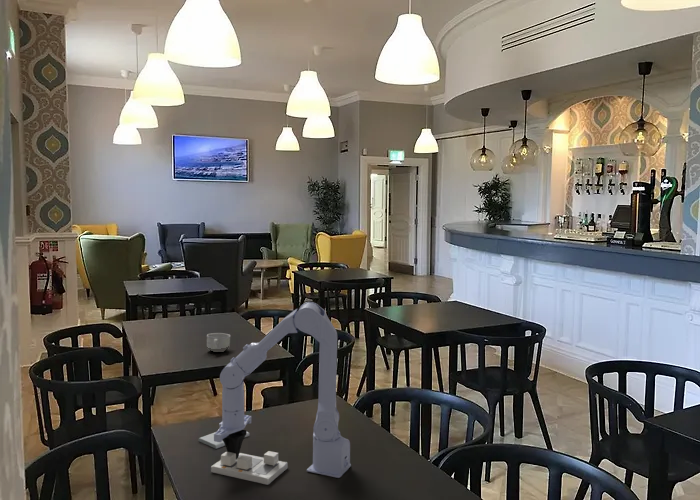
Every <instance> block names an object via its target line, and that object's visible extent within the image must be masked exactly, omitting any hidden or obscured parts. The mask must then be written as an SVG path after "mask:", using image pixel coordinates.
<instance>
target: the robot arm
mask: <svg viewBox="0 0 700 500" xmlns="http://www.w3.org/2000/svg"><path fill="white" fill-rule="evenodd" d="M299 331H301V332H303V333H305V334H308V335H310V336H312V337H313V338H314V339H315V340H316V341H317V342H318V343H319V347H318V348H319V351H318V352H319V355H318V363H319V364H318V403H317V412H316V415H315V421H314V424H313V429H312V430H313V433H312V464H311V465H310V466H309V467H308V468H307V469H306V472H309V473H313V474H319V475H321V476H328V477H333V478H337V479H339V478H341V477H342V476H343V475H344V474H345V473H346V472H348V470H349V468H350V467H351V466H352V464H351V442H350V440H349V439H348V438H345V437H343V436H342V435H341V431H340V430H339V421H340V413H339V411H338V409H337V369H338V368H337V366H338V365H337V362H338V361H337V360H338V332H337V330H336V327H335V326H334V325H333V323H332V321H331V320H330V319H329V316H328V315H327V313H326V310H325V309H324V308H322V307H321V306H320V305H319V304H318V303H316V302H313V301H307V302H306V301H305V302H304V303H303V304H301V305H300V307H299V308H296V309H294V310H293V311H291V312H290V313H289V314H287V315H286V316H285V317H284V318H283V319H282V320H281V321H280V322H278V324H276V326H274V328H272V330H270V331H269V333H267V335H266V336H264V338H262V339H261V340H260V341H259V342H251V343H250V344H248V343H247V344H245V345H244V346H243V347H242V349H243V350H242V351H241V352H240V353H239V354H238V355H237V356H235V357H232V358H230V360H229V361H230V362H229V363H227V365H225V366H224V367H223V369H222V370H221V372H220V374H219V381H220V384H221V386H222V392H221V401H222V402H221V404H222V405H221V406H222V407H221V408H222V410H221V415H222V416H221V417H222V420H221V422H219V424H218V426H219V428H218V430H216V431H215V432H216V433H215V432H214V433H215V434H214V441H216V442H222V441H223V442H224V444H225V449H226V452H231V453H236V459H237V458H238V456H239V453H241V452H240V451H241V448H242V444H243V441H244V439H245V438H246V437H245V436H246V431H247V430H246V429H245V428H246V426H247V425H250V424H252V415H248V414H245V389H244V388H245V385H244V383H245V381H244V380H245V378H246V376H249V375H250V374H252V372H254V371H255V369H257V368H258V367H259V366H260V365H262V363H263V362H265V361H266V360H267V353H268V351H269V350H271V349H272V348H273V347H274V346H275V345H276V344H277V343H278V342H280V341H281V340H282V339H283V338H284V337H285V336H287V335H288V334H298V332H299ZM244 437H245V438H244Z"/></svg>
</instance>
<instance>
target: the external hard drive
mask: <svg viewBox="0 0 700 500" xmlns="http://www.w3.org/2000/svg"><path fill="white" fill-rule="evenodd" d="M216 432H217V431H215V432H212V433H209V434H207V435H204V436H201V437H199V438H198V442H199V443H201V444H204V445H206V446H209V447H211V448H213V449H215V450H216V449H219V448H222V447H224V446H225V444H224V442H223V441H222V442H216V441H214V434H215V433H216ZM247 437H250V432H248V431H247V430H246V436H245V437H244V439H245V438H247ZM225 447H226V446H225Z"/></svg>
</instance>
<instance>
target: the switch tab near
mask: <svg viewBox="0 0 700 500" xmlns="http://www.w3.org/2000/svg"><path fill="white" fill-rule="evenodd" d="M263 458H264V464H269V465H275V464H276V463H278V461H279V452H275V451H271V450H268V451H267V452H265V453H263Z"/></svg>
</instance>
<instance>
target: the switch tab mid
mask: <svg viewBox="0 0 700 500" xmlns="http://www.w3.org/2000/svg"><path fill="white" fill-rule="evenodd" d="M251 466H252V457H250V456H245V455H241V456H240V457H239V458H237V468H241V469H245V470H247V469H249V468H250V467H251Z"/></svg>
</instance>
